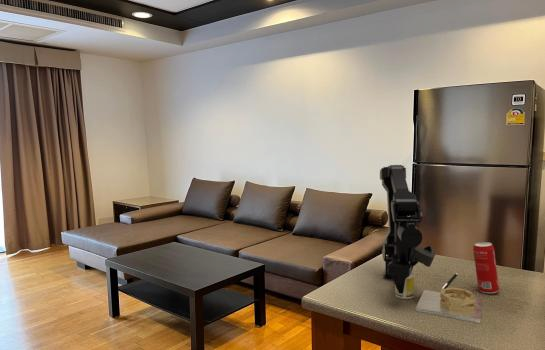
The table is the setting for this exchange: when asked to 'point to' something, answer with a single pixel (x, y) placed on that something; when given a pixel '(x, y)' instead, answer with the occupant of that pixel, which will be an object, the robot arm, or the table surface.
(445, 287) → the pen
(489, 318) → the table surface
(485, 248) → the beverage can
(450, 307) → the plate
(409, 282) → the supplement bottle
